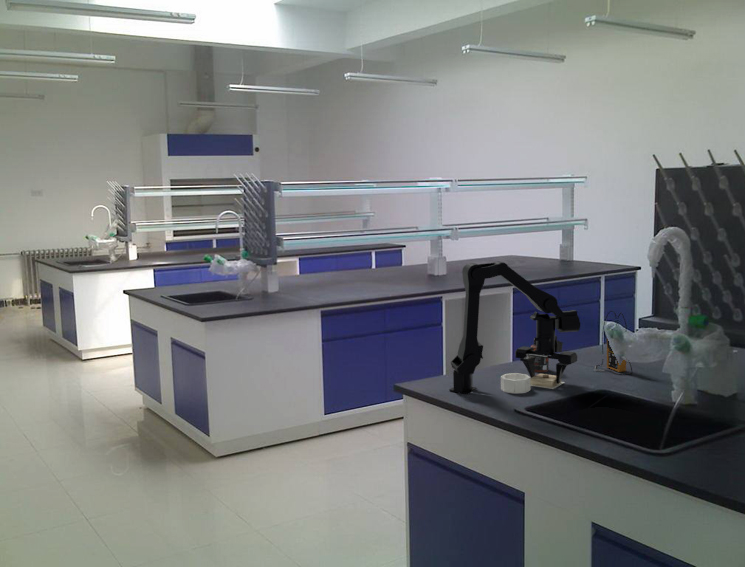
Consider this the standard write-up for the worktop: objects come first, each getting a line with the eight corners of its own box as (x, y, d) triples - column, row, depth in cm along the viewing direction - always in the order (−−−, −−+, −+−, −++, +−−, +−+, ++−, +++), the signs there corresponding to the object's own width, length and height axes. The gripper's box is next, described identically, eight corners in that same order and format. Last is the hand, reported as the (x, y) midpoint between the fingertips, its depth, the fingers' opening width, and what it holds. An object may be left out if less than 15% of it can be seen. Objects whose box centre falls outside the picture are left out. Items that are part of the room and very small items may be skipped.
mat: (553, 390, 224) (553, 388, 224) (526, 386, 230) (526, 384, 230) (564, 383, 231) (564, 382, 231) (538, 380, 237) (538, 378, 237)
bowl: (521, 396, 219) (521, 381, 218) (496, 392, 224) (496, 377, 224) (534, 389, 226) (534, 375, 225) (509, 385, 231) (509, 372, 230)
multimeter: (581, 367, 251) (582, 310, 249) (606, 364, 254) (607, 308, 251) (607, 377, 237) (608, 317, 235) (633, 374, 240) (634, 315, 238)
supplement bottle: (550, 373, 245) (550, 340, 243) (532, 373, 245) (532, 340, 243) (546, 369, 251) (546, 336, 249) (529, 369, 251) (529, 337, 249)
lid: (551, 387, 225) (551, 379, 225) (530, 384, 230) (530, 376, 229) (561, 382, 231) (561, 374, 231) (540, 379, 235) (540, 371, 235)
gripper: (584, 331, 229) (583, 380, 231) (529, 326, 240) (529, 372, 242) (570, 338, 220) (569, 388, 222) (514, 332, 232) (514, 379, 234)
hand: (545, 381), depth 230 cm, fingers open, 8 cm apart
